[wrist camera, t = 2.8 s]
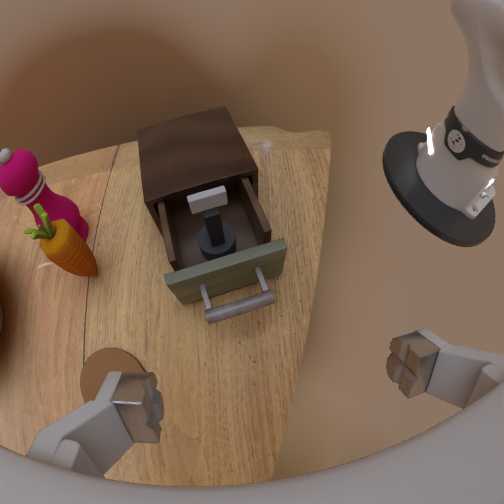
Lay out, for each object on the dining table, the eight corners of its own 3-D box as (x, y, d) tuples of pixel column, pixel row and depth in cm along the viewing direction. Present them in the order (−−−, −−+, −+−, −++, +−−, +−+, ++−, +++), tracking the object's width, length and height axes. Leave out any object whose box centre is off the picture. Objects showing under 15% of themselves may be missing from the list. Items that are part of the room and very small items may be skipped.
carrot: (101, 294, 33) (34, 240, 20) (77, 284, 34) (11, 231, 21) (115, 261, 36) (58, 197, 22) (90, 254, 36) (33, 193, 23)
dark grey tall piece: (230, 227, 35) (222, 170, 26) (241, 256, 34) (236, 204, 24) (197, 237, 35) (179, 183, 26) (205, 267, 33) (188, 219, 24)
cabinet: (257, 211, 39) (258, 168, 31) (164, 239, 37) (144, 202, 29) (228, 146, 45) (225, 105, 38) (151, 168, 43) (137, 130, 36)
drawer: (294, 305, 32) (304, 285, 26) (192, 338, 30) (176, 326, 24) (246, 191, 40) (244, 157, 33) (162, 215, 38) (148, 185, 32)
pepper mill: (77, 261, 36) (-6, 178, 18) (50, 249, 37) (-25, 173, 19) (98, 222, 39) (33, 127, 21) (70, 213, 40) (9, 129, 22)
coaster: (138, 340, 31) (137, 340, 30) (160, 419, 26) (159, 419, 26) (76, 356, 29) (73, 355, 29) (93, 428, 25) (90, 428, 25)
